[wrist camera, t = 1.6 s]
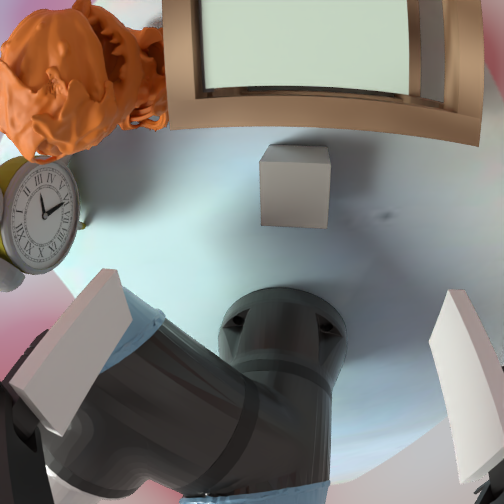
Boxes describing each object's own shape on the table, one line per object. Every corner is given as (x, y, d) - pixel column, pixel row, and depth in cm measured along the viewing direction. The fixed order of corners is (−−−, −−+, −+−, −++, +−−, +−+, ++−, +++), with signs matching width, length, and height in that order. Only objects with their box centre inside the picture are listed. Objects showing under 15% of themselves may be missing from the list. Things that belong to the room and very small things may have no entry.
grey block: (324, 200, 29) (327, 228, 24) (270, 197, 30) (261, 225, 25) (327, 146, 27) (330, 164, 21) (269, 144, 27) (259, 161, 22)
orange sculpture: (226, 30, 23) (103, -20, 7) (189, 142, 28) (61, 229, 13) (119, 12, 22) (-37, -1, 7) (94, 113, 28) (-53, 171, 13)
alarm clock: (96, 234, 36) (15, 312, 23) (56, 228, 36) (-23, 296, 24) (84, 138, 30) (-25, 190, 17) (42, 140, 30) (-58, 189, 18)
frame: (412, 115, 24) (478, 146, 13) (228, 107, 26) (170, 130, 16) (408, -30, 16) (464, -83, 6) (221, -37, 19) (163, -94, 9)
